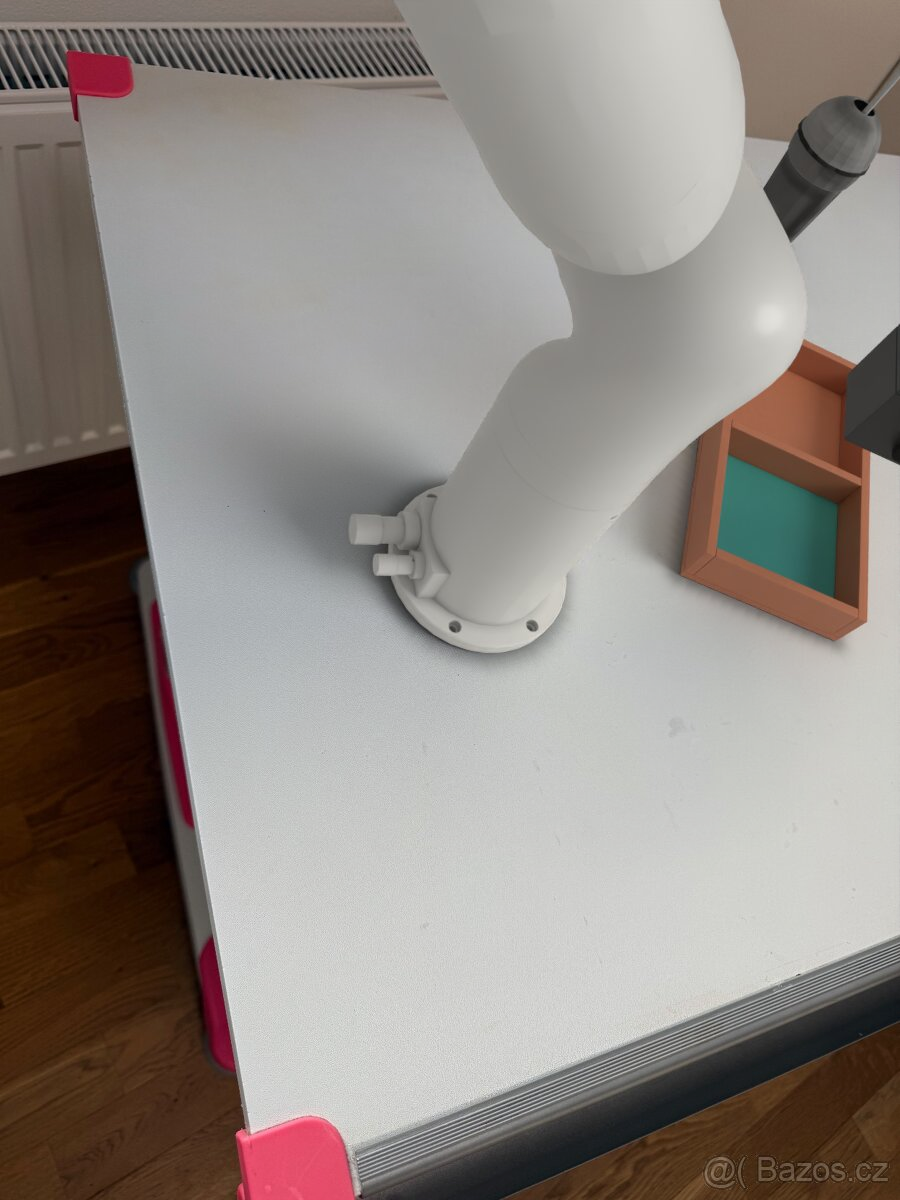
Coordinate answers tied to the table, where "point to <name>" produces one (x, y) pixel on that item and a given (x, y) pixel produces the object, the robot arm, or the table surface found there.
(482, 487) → the robot arm
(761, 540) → the divided orange tray
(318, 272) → the table surface
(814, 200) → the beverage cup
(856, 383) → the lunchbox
